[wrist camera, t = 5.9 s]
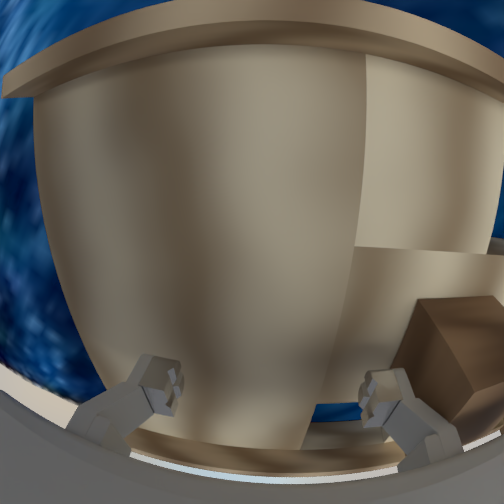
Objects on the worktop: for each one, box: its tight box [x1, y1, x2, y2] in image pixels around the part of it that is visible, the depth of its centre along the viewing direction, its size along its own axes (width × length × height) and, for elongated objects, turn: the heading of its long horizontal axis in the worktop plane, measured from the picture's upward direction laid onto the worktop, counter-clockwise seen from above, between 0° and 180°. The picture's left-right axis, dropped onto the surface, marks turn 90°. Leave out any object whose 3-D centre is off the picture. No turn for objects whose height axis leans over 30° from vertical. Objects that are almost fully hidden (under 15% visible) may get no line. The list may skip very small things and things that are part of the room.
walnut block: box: [390, 295, 504, 457], centre depth 8 cm, size 5×5×5 cm
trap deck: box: [1, 0, 504, 477], centre depth 10 cm, size 34×24×6 cm
